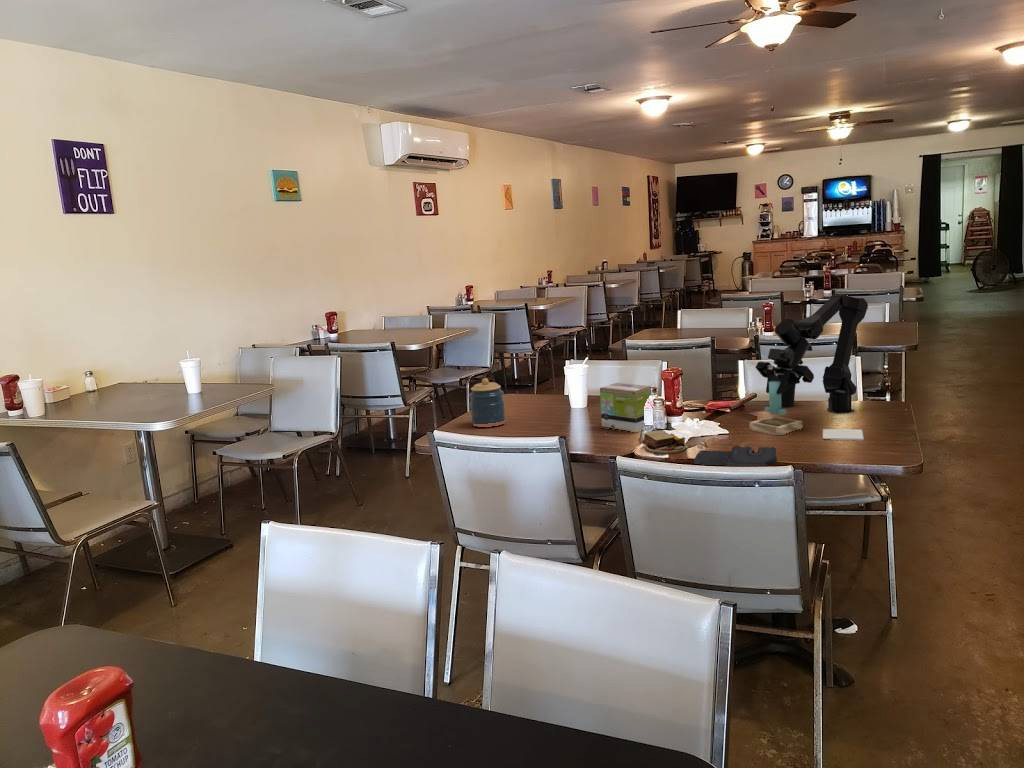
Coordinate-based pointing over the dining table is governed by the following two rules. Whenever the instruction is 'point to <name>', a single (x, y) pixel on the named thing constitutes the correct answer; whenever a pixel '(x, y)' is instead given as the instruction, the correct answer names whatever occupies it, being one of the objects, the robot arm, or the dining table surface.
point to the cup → (787, 394)
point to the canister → (487, 403)
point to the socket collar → (784, 426)
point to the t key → (774, 399)
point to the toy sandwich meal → (663, 442)
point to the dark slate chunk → (738, 457)
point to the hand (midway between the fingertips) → (772, 393)
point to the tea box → (624, 405)
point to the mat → (843, 434)
